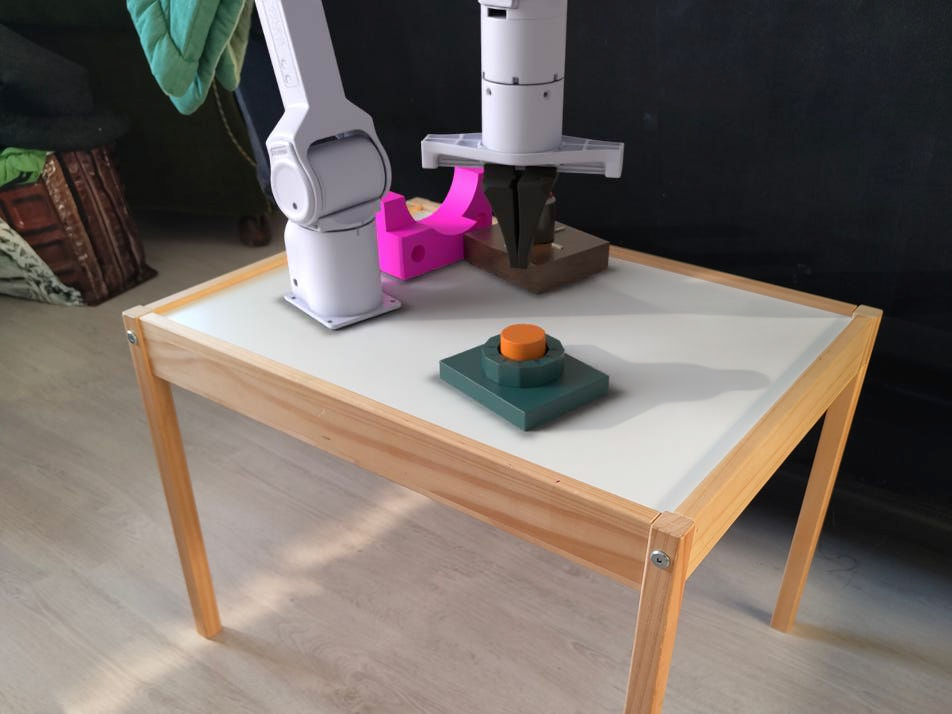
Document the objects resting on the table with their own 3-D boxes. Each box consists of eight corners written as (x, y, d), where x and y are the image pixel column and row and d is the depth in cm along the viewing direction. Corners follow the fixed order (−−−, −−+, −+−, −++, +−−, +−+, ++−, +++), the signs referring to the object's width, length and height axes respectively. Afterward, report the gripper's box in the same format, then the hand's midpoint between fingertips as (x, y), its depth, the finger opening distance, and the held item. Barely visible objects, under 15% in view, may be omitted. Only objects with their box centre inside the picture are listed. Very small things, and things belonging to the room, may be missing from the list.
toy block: (404, 280, 92) (399, 208, 88) (367, 264, 96) (360, 194, 92) (507, 242, 100) (507, 174, 96) (470, 228, 104) (468, 162, 100)
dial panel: (463, 260, 97) (462, 231, 95) (533, 238, 102) (533, 210, 100) (536, 295, 89) (537, 264, 87) (608, 269, 94) (610, 240, 92)
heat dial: (533, 246, 91) (534, 205, 89) (508, 236, 94) (508, 195, 92) (562, 237, 93) (563, 196, 91) (537, 227, 96) (538, 187, 94)
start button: (491, 351, 73) (491, 332, 72) (525, 338, 75) (525, 319, 74) (520, 367, 70) (520, 347, 69) (554, 354, 72) (555, 334, 71)
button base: (439, 378, 76) (437, 341, 74) (520, 346, 80) (521, 310, 78) (524, 432, 69) (525, 392, 66) (608, 394, 73) (611, 355, 71)
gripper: (632, 67, 64) (617, 250, 72) (435, 61, 66) (442, 239, 74) (625, 90, 58) (610, 286, 66) (409, 82, 61) (420, 272, 69)
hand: (520, 263), depth 70 cm, fingers closed
